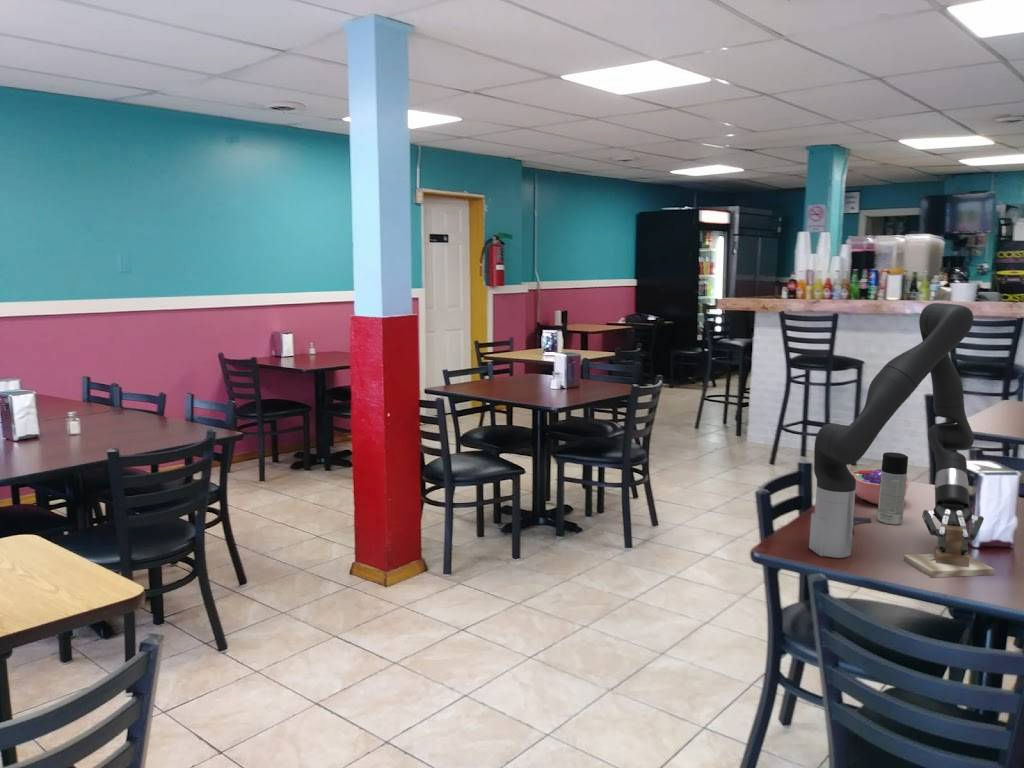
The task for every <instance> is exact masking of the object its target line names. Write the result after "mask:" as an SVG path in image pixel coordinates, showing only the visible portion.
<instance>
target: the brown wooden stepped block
mask: <svg viewBox="0 0 1024 768" xmlns="http://www.w3.org/2000/svg"><path fill="white" fill-rule="evenodd" d="M962 540H963V529H962V527H958V526H950V525H947V526H946V525H945V544H946V550H945V552H942V551H941V549H939V548H938V546H936V545H935V546H934V551H933V552H934V553H933V554H934V557H935V561H936V563H942V564H950V565H957V566H964V567H969V560H970V557H971V556H970V554H969V552H968V551H967V552H966V553H964V555H962V554H961V548H962ZM969 556H970V557H969Z"/></svg>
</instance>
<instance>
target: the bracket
mask: <svg viewBox="0 0 1024 768" xmlns="http://www.w3.org/2000/svg"><path fill="white" fill-rule="evenodd" d="M871 523H872V518H871V517H860V516H858V517H857V516H854V517H853V531H852V536H854V534H855V530H854V529H855V528H854V526H857V525H860V524H871Z"/></svg>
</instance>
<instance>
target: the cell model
mask: <svg viewBox="0 0 1024 768" xmlns="http://www.w3.org/2000/svg"><path fill="white" fill-rule="evenodd" d="M881 469H882V468H877V469H869V470H868V469H866V470H865V469H864V470H861V469H859V470H854V471H851V472H850V473H851V474H852V475H853V476H854V478H855V479H856V490H855V495H856V496H857V497H858V498H860V499H861V500H864V501H867V502H869V503H871V504H873V505H878V504H879V493H880V481H881ZM910 481H911V480H910V478H909V477H907V478H906V488H905V497H906V495H907V491H908V488H909V487H908V486H909V484H910Z"/></svg>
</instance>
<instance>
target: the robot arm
mask: <svg viewBox="0 0 1024 768" xmlns="http://www.w3.org/2000/svg"><path fill="white" fill-rule="evenodd" d="M973 314H974V313H973V311H972V310H971V309H970V308H969V307H967V306H965V305H960V304H956V303H955V304H953V303H942V302H934V303H929V304H927V305H926V306H925V307H924V308H923V309H922V310H921V312H920V315H919V321H918V324H919V331H920V335H921V340H922V341H920V343H919V344H917V345H915V346H914V347H912V348H910V349H908V350H906V351H904V352H902V353H901V354H898V355H897V356H895V357H893V358H892V359H891V360H890V361H889V360H888V362H887V363H886V364H885V365H884V366H883V367H882V368H881V369H880V371H879V372H878V373H877V374H876V375H875V376H874V378H873V379H872V380H871V382H870V384H869V386H868V389H867V393H866V400H865V404H864V407H863V408H862V410H861V412H860V413H859V414H858V416H857V417H856V418H855V419H854V420H853V421H852V422H851V423H850V424H849V425H848V426H845V425H841V424H840V423H839V424H838V423H827V424H824V425H823V426H821V428H820V429H819V430H818V432H817V434H816V435H815V436H816V437H815V440H814V448H813V451H814V455H813V460H814V461H813V470H814V471H813V472H814V475H815V479H816V488H815V489H816V490H815V505H814V512H813V513H811V515H810V529H809V542H808V543H809V544H808V548H809V549H810V550H811V551H812V552H813V553H816V555H818V556H819V557H829V558H839V559H841V558H848V557H850V556H851V555H852V548H853V547H852V544H853V543H852V542H853V535H852V531H853V528H854V526H853V517H855V516H854V515H855V501H856V493H855V490H856V479H855V478H854V476H853V475H852V474H851V473H852V472H850V470H849V468H848V465H852V464H855V463H857V462H858V461H859V460H860V459H861V458H863V457H864V455H865V454H866V452H867V451H868V449H869V448H870V446H871V445H872V444H873V442H874V441H875V439H876V438H877V437H878V435H879V433H880V432H881V431H882V430H883V428H884V427H885V426H886V424H887V423H888V422H889V421H890V419H891V418H892V417H893V415H894V414H895V413H896V412H897V410H899V408H900V407H901V406H902V405H903V404H904V403H905V402H906V401H907V400H908V398H910V396H911V395H912V394H913V393H914V391H915V390H916V389H917V388H918V387H919V386H920V384H921V383H922V382H923V381H924V379H925V378H926V377H927V376H928V375H929V374H930V379H931V385H932V399H933V412H934V414H935V415H936V416H937V417H940V418H944V419H949V420H952V421H954V422H955V423H937V424H933V425H932V426H930V427H929V429H928V431H927V439H928V443H929V445H930V447H931V450H932V452H933V455H934V460H935V479H934V480H935V481H934V501H935V502H934V503H935V504H934V505H935V506H934V508H933V509H932V510H927V509H924V510H923V511H922V516H921V518H922V520H923V522H924V524H925V526H926V528H927V531H928V532H929V534H930V535H931V536H936V537H937V541H938V542H937V543H938V548H939V549H941V551H942V552H945V550H946V544H945V525H946V526H947V525H950V526H958V527H962V529H963V540H962V548H961V554H962V555H964V553H966V552H968V550H969V542H968V541H974V540H975V539H976V537H977V535H978V533H979V531H980V529H981V527H982V525H983V522H984V520H985V519H984V516H982V515H981V516H980V515H979V516H976V515H974V514H973V513H972V511H971V509H970V490H969V489H970V488H969V487H970V486H969V479H968V465H967V462H968V461H967V458H966V456H965V455H964V454H962V453H960V452H958V451H967V450H969V449H971V448H972V446H973V445H974V440H975V437H974V432H973V430H972V428H971V425H970V423H969V421H968V418H967V415H966V410H965V399H964V386H963V382H962V379H961V377H960V375H959V373H958V370H957V368H956V367H955V365H954V363H953V361H952V359H951V356H950V354H949V353H950V352H951V351H953V349H954V348H956V347H957V345H959V343H960V342H962V341H963V340H964V339H965V338H966V336H967V335H968V334H969V332H970V331H971V329H972V327H973V324H974V315H973ZM934 517H935V518H936V519H937V521H938V522H939V523H940V528H937V526H936V525H935V523H934V521H933V520H934ZM970 520H971V524H972V525H973V528H972V530H971V532H968V530H967V525H966V524H967V523H969V521H970Z"/></svg>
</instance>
